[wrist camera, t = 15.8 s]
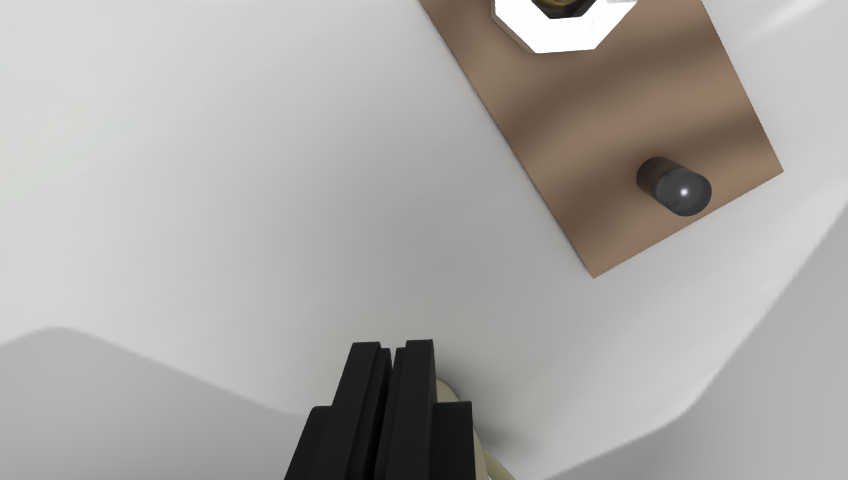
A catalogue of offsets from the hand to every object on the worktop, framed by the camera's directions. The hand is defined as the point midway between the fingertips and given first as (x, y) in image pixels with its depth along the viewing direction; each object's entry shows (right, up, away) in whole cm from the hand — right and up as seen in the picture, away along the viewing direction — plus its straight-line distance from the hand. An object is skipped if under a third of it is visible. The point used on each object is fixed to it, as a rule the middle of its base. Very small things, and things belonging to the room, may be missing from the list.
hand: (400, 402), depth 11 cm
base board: (+11, +13, +22) cm, 28 cm away
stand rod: (+15, +7, +22) cm, 28 cm away
